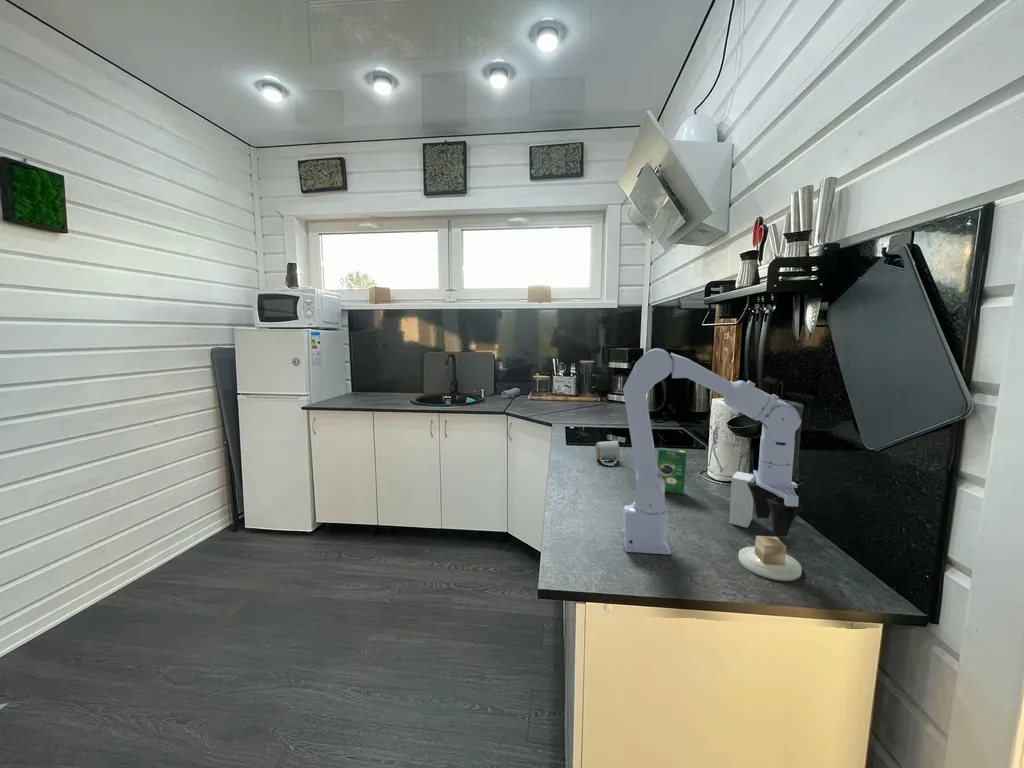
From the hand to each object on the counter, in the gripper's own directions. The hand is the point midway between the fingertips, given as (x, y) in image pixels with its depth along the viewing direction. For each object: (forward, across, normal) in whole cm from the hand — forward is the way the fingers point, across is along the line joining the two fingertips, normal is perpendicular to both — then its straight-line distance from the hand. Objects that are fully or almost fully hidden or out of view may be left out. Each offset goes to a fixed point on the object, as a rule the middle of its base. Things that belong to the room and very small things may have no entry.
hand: (770, 525), depth 84 cm
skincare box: (+9, +20, -2) cm, 22 cm away
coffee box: (+9, +38, +11) cm, 40 cm away
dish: (+8, 0, 0) cm, 8 cm away
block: (+7, 0, 0) cm, 7 cm away
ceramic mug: (+9, +65, +27) cm, 71 cm away
